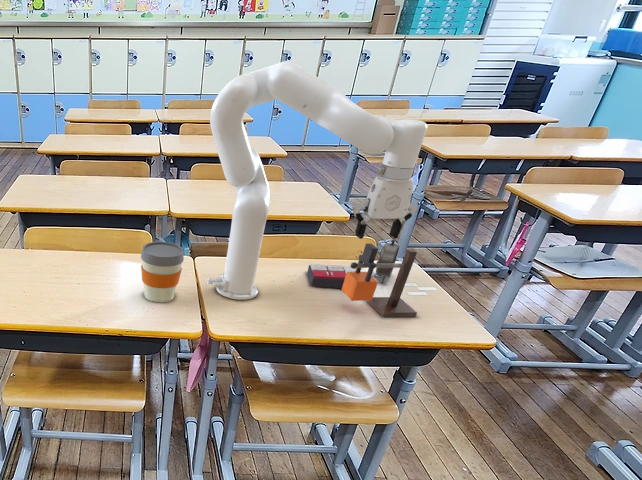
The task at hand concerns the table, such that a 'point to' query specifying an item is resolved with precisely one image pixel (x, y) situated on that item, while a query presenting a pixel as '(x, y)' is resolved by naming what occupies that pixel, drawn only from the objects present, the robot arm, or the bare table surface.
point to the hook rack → (394, 288)
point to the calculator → (328, 275)
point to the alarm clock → (387, 259)
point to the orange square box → (362, 277)
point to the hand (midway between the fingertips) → (376, 236)
